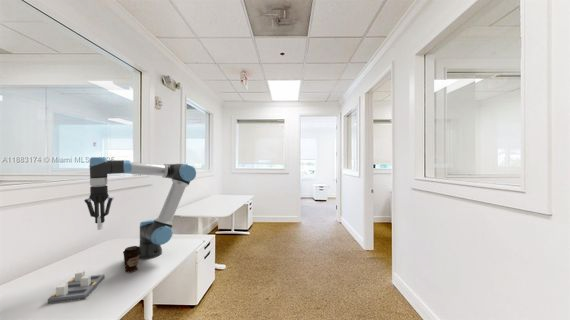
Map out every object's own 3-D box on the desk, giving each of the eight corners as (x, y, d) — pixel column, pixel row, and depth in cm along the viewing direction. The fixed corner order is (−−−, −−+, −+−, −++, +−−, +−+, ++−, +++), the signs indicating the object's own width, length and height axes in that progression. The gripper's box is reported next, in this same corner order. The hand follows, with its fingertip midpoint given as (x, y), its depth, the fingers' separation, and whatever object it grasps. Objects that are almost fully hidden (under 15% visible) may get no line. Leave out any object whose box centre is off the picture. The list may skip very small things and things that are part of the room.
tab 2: (84, 279, 129) (84, 270, 129) (81, 281, 126) (82, 273, 126) (77, 279, 128) (78, 271, 128) (74, 282, 125) (74, 273, 125)
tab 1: (67, 293, 115) (68, 283, 115) (64, 296, 112) (64, 286, 112) (60, 294, 114) (60, 284, 114) (56, 297, 111) (56, 287, 111)
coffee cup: (143, 268, 145) (143, 246, 145) (130, 274, 137) (130, 251, 137) (132, 266, 148) (132, 244, 148) (119, 272, 140) (119, 249, 140)
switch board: (104, 277, 133) (104, 273, 133) (85, 298, 113) (85, 293, 113) (73, 281, 129) (73, 277, 129) (47, 303, 109) (47, 298, 109)
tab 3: (90, 284, 124) (90, 275, 124) (87, 287, 121) (87, 277, 121) (83, 285, 123) (83, 275, 123) (80, 287, 120) (80, 278, 120)
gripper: (115, 184, 139) (116, 225, 140) (87, 185, 135) (88, 228, 136) (110, 185, 132) (111, 229, 133) (81, 187, 128) (82, 232, 128)
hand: (100, 228), depth 134 cm, fingers closed
